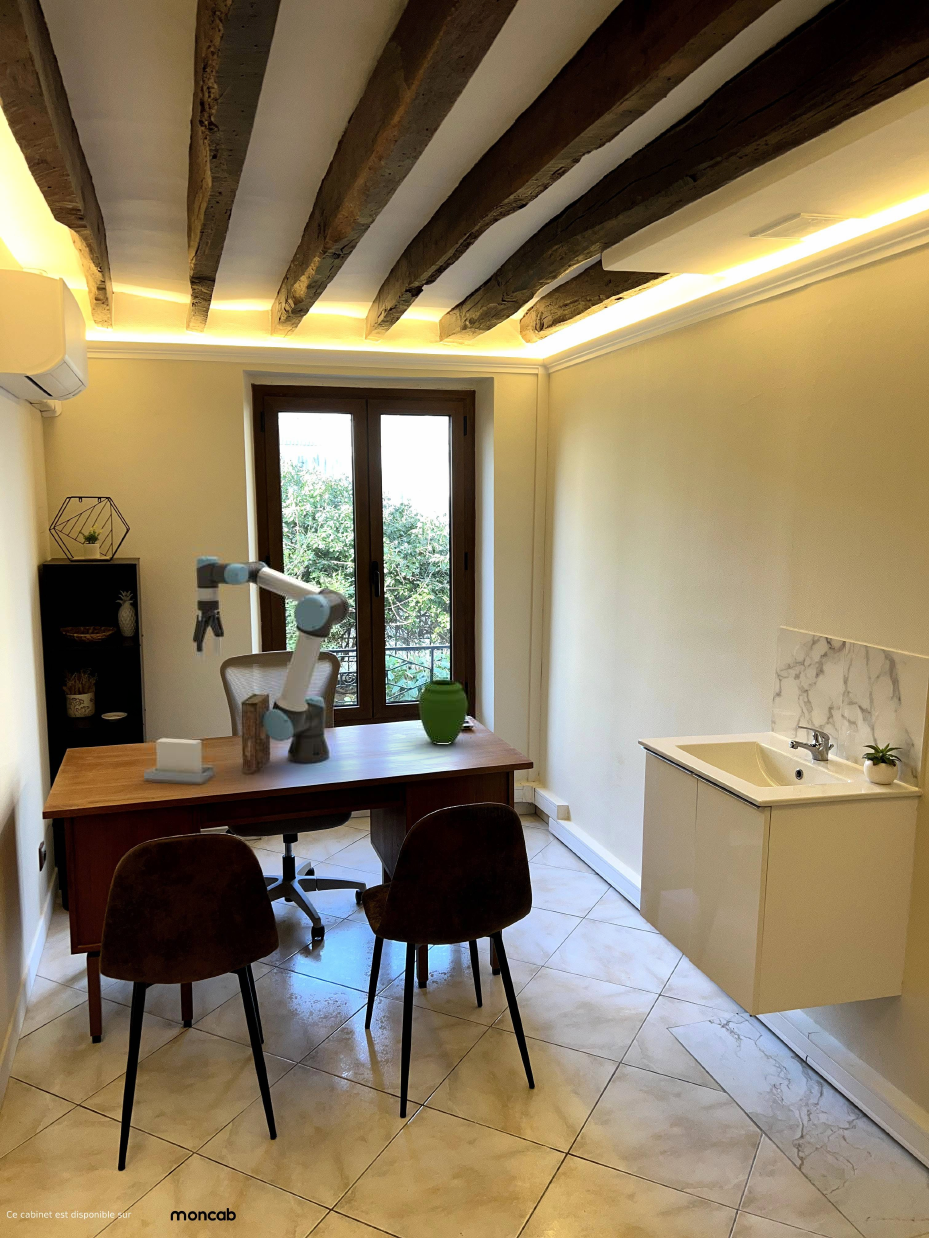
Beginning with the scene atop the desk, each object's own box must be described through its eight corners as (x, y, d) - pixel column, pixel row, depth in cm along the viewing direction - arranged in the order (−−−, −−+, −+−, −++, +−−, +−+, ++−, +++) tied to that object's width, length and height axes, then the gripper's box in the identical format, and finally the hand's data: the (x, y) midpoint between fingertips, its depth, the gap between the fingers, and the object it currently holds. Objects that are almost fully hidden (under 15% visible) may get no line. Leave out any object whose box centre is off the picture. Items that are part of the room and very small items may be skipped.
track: (214, 775, 278) (213, 765, 278) (201, 784, 269) (200, 774, 269) (159, 772, 281) (159, 762, 281) (144, 780, 272) (144, 770, 271)
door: (202, 774, 276) (201, 739, 275) (196, 778, 272) (195, 743, 271) (164, 771, 278) (163, 737, 277) (157, 775, 274) (156, 741, 273)
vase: (416, 736, 333) (417, 677, 330) (464, 735, 335) (465, 677, 332) (419, 749, 314) (420, 687, 311) (469, 749, 316) (470, 687, 313)
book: (257, 774, 281) (256, 703, 278) (241, 774, 281) (240, 702, 278) (270, 760, 297) (269, 693, 294) (255, 760, 297) (254, 692, 294)
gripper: (213, 596, 308) (214, 651, 311) (181, 602, 284) (183, 662, 286) (232, 596, 307) (233, 652, 310) (202, 603, 283) (203, 663, 285)
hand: (209, 657), depth 298 cm, fingers open, 13 cm apart
